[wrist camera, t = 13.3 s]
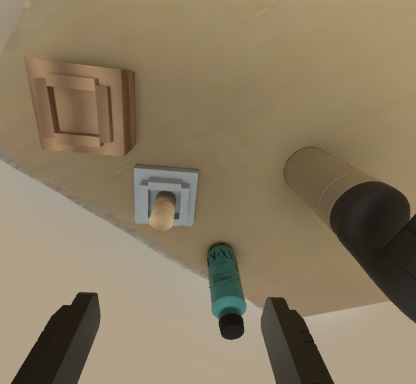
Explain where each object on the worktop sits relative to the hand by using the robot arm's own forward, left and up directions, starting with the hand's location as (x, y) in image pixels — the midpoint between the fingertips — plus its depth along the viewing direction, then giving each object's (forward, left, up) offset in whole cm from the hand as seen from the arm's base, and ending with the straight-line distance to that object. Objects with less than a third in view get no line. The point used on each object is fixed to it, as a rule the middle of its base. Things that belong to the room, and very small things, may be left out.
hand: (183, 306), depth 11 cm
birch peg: (+4, +12, -34) cm, 36 cm away
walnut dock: (+16, -4, -36) cm, 39 cm away
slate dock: (+4, +12, -36) cm, 38 cm away
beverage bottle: (-9, +26, -36) cm, 45 cm away
